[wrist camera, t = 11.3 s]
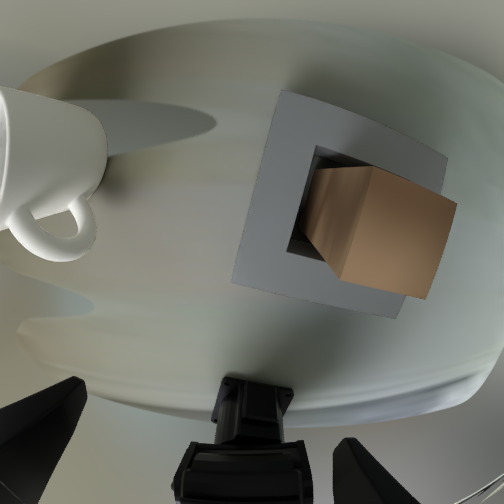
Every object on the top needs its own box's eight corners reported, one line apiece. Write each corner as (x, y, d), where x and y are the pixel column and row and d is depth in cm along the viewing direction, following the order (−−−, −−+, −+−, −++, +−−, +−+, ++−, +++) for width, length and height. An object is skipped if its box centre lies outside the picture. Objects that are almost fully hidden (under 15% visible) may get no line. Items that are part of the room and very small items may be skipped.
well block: (374, 294, 20) (395, 318, 16) (235, 261, 20) (230, 282, 16) (417, 158, 17) (448, 157, 13) (276, 106, 17) (281, 89, 13)
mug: (157, 204, 19) (69, 238, 9) (87, 265, 20) (2, 322, 10) (84, 88, 16) (-6, 56, 6) (26, 155, 17) (-61, 162, 7)
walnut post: (351, 240, 19) (424, 299, 9) (298, 226, 19) (339, 279, 9) (367, 186, 18) (457, 203, 8) (313, 169, 18) (373, 165, 8)
